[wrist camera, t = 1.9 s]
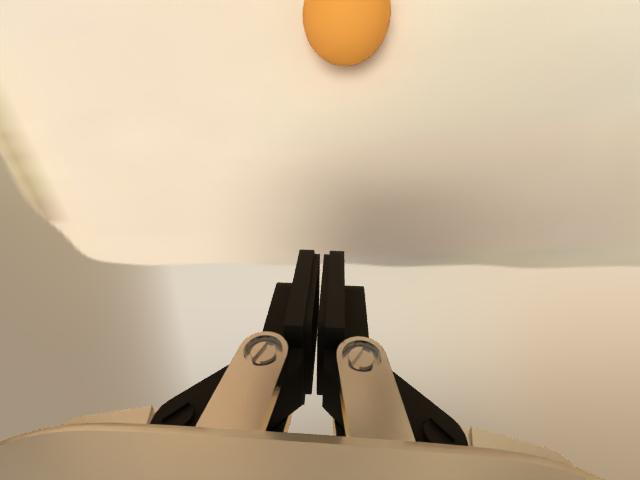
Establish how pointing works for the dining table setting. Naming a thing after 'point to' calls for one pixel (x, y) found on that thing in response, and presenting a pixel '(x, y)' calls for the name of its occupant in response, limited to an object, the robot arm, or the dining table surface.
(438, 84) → the dining table surface
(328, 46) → the ball
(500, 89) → the dining table surface
